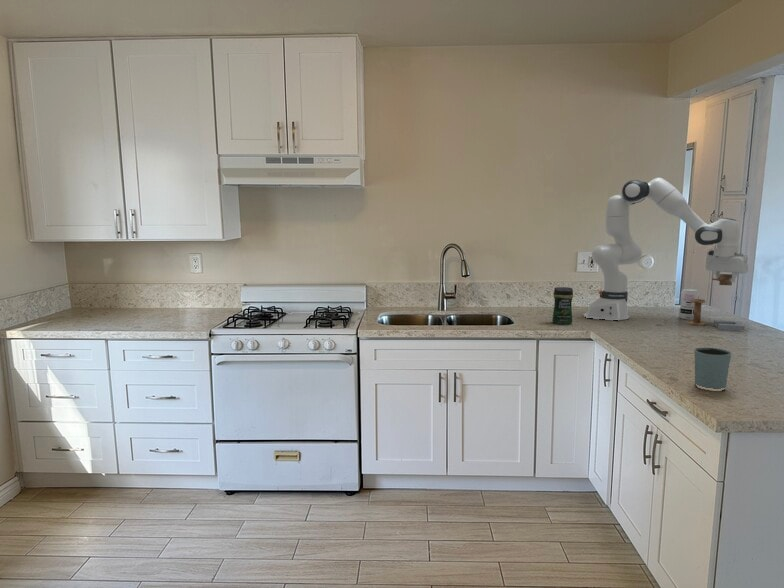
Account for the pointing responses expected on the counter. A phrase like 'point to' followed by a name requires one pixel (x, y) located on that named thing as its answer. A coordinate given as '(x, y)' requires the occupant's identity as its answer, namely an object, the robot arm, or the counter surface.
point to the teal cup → (711, 367)
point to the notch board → (728, 325)
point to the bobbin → (697, 312)
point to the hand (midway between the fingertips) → (725, 281)
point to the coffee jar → (562, 305)
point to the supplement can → (688, 303)
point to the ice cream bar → (724, 279)
